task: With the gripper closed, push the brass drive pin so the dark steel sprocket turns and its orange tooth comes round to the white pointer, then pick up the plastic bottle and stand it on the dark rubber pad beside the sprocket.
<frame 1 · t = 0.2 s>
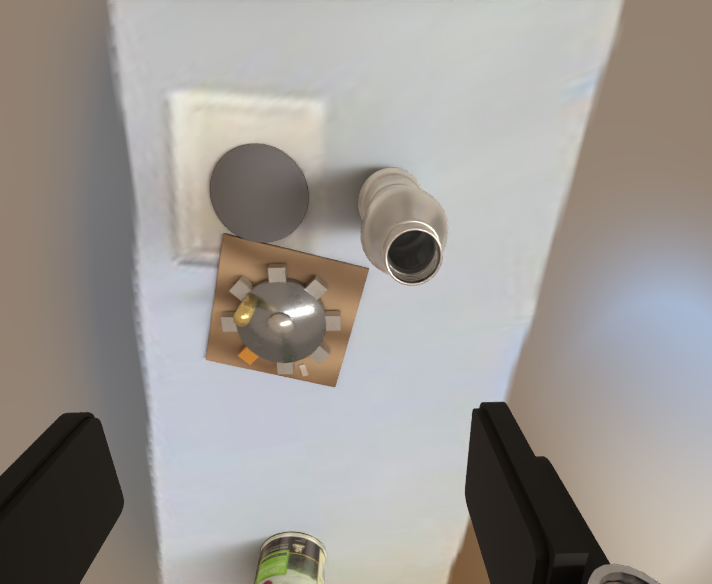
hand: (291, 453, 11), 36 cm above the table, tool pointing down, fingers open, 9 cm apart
pad: (260, 194, 44), on the table
sprocket: (278, 330, 46), point 4 cm above the table, hinge at 0.0°
coffee can: (293, 553, 65), on the table
plastic bottle: (388, 197, 44), on the table
base plate: (284, 314, 49), on the table
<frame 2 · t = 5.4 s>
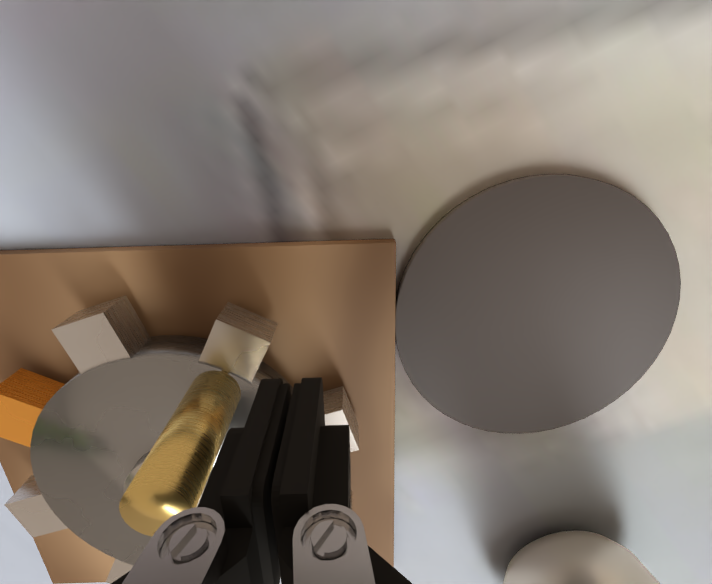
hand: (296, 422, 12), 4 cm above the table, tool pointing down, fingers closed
pad: (530, 314, 16), on the table
sprocket: (158, 516, 14), point 4 cm above the table, hinge at 1.8°, touching gripper
plastic bottle: (556, 554, 21), on the table
base plate: (198, 434, 17), on the table
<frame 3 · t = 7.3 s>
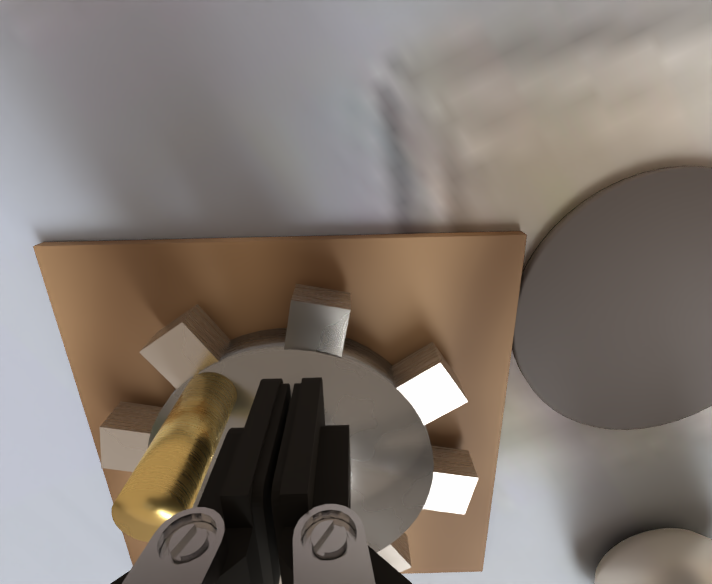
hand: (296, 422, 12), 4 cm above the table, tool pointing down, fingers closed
pad: (648, 309, 15), on the table
sprocket: (286, 511, 14), point 4 cm above the table, hinge at 63.3°, touching gripper
plastic bottle: (643, 552, 20), on the table
base plate: (299, 429, 17), on the table
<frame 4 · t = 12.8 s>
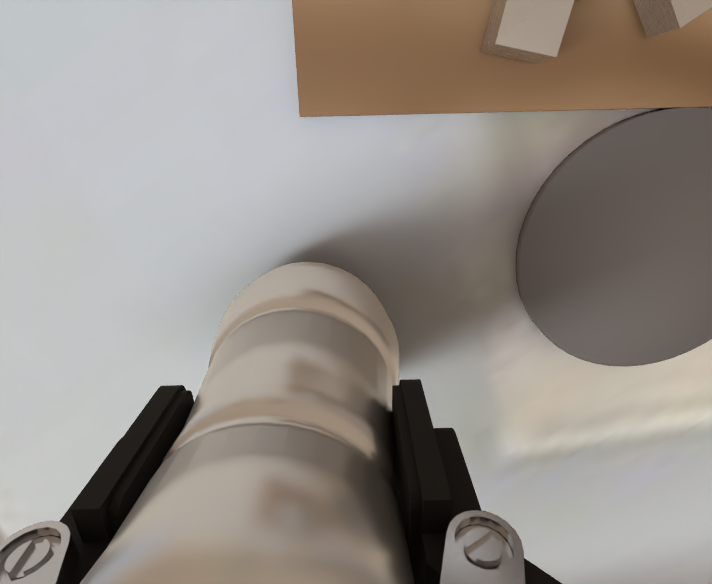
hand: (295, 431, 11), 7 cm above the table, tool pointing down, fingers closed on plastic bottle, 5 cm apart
pad: (645, 248, 16), on the table
plastic bottle: (315, 323, 18), on the table, touching gripper
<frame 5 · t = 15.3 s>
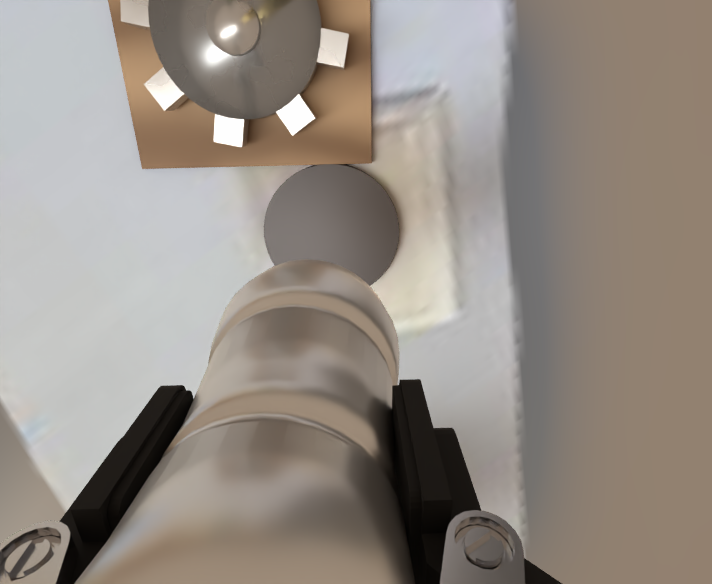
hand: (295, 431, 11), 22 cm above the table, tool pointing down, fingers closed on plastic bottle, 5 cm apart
pad: (332, 232, 32), on the table
sprocket: (228, 21, 23), point 4 cm above the table, hinge at 63.3°
plastic bottle: (315, 321, 18), point 15 cm above the table, touching gripper
base plate: (244, 35, 27), on the table
when the fingers open (8 cm above the table, at t = 18.1 s): plastic bottle drops 1 cm, resting on pad.
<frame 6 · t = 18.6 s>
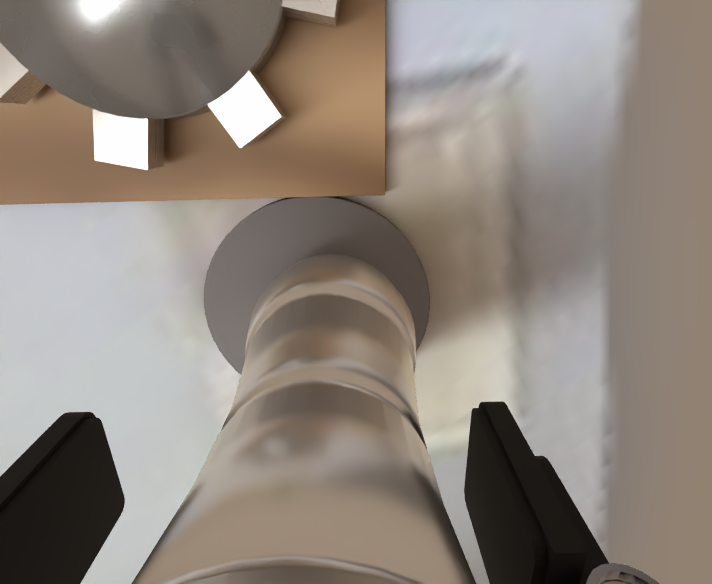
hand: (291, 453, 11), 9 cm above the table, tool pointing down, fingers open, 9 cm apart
pad: (318, 305, 19), on the table
plastic bottle: (335, 311, 19), resting on pad
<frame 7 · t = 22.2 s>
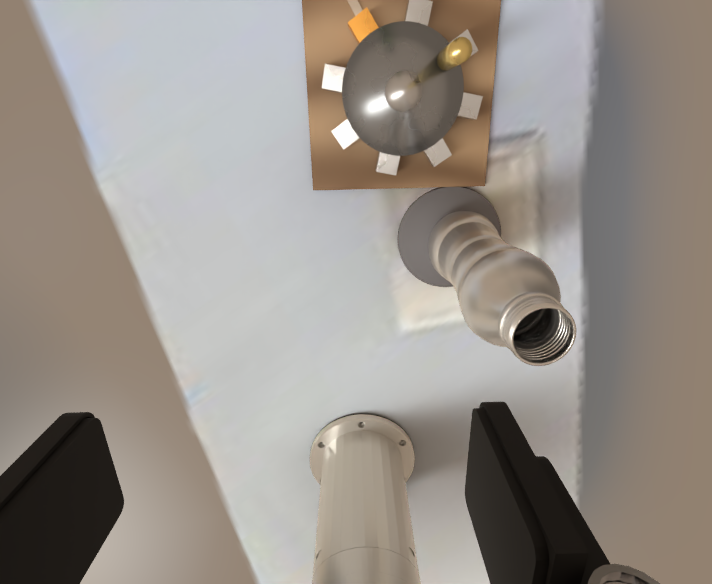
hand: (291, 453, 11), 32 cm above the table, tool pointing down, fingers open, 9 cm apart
pad: (448, 237, 42), on the table
sprocket: (404, 90, 33), point 4 cm above the table, hinge at 63.3°
plastic bottle: (456, 240, 42), resting on pad
base plate: (399, 93, 37), on the table
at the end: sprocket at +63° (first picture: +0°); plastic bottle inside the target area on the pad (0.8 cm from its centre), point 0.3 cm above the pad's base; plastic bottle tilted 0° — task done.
